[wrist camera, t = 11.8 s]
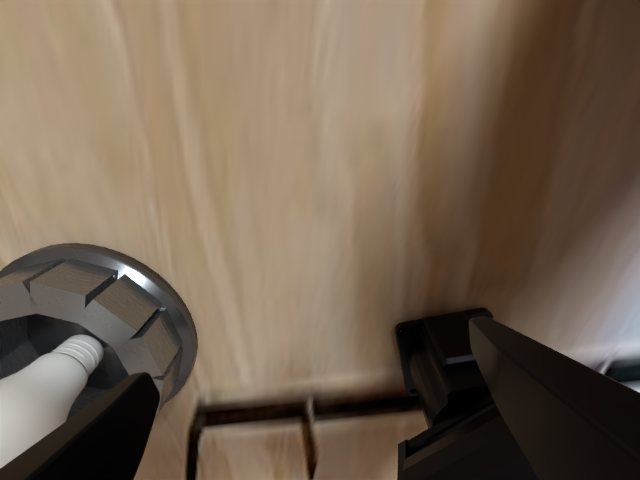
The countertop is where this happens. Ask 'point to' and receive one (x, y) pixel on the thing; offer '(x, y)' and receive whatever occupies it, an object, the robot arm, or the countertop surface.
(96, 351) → the lightbulb
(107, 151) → the countertop surface
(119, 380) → the socket
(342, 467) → the countertop surface
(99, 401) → the robot arm
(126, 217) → the countertop surface
